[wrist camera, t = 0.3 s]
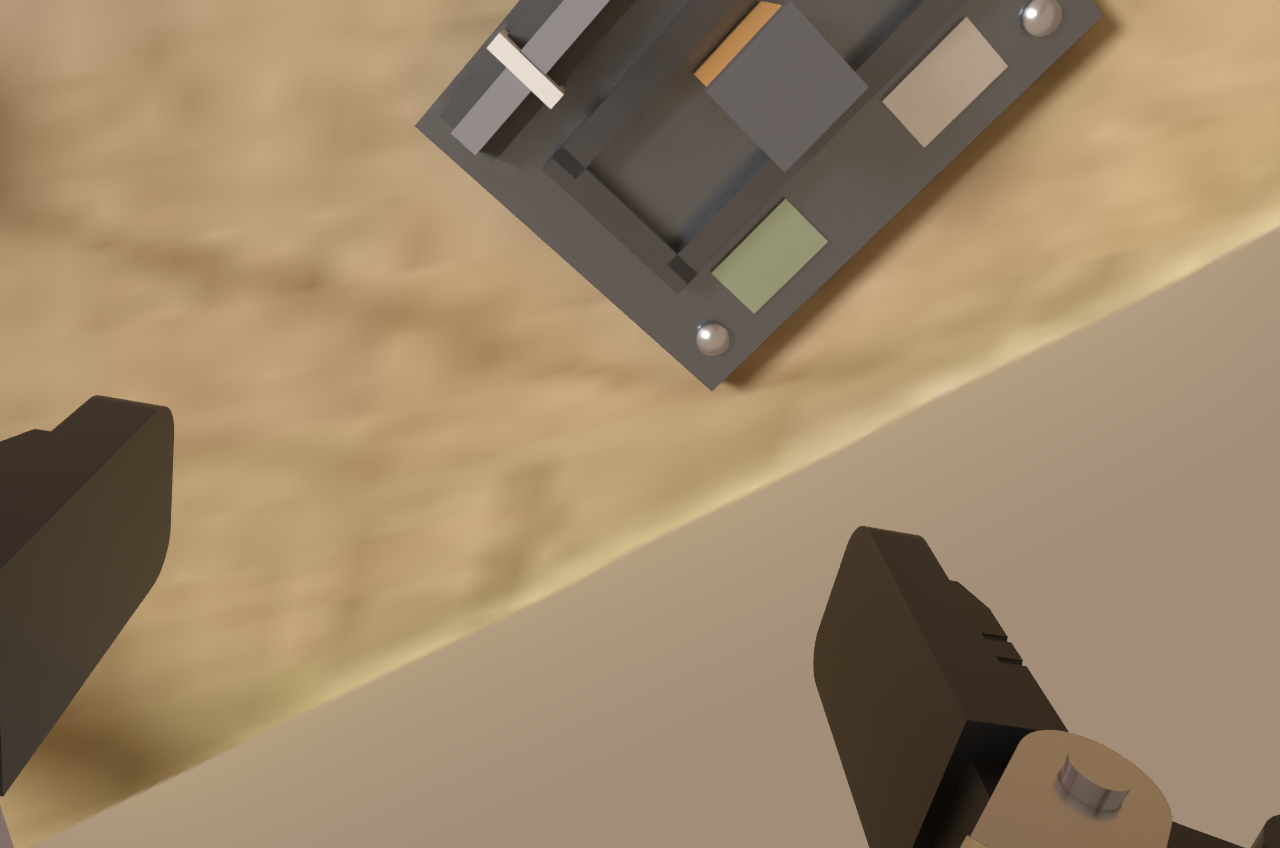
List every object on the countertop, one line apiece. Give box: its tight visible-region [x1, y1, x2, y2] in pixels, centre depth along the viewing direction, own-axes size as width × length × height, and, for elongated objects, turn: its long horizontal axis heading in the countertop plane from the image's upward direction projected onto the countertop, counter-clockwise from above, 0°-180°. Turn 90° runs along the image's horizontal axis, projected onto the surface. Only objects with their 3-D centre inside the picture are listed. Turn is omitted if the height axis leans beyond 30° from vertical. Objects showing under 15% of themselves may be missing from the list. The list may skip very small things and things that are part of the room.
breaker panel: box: [415, 0, 1104, 391], centre depth 33 cm, size 18×14×3 cm
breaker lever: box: [693, 0, 869, 172], centre depth 30 cm, size 3×3×6 cm
